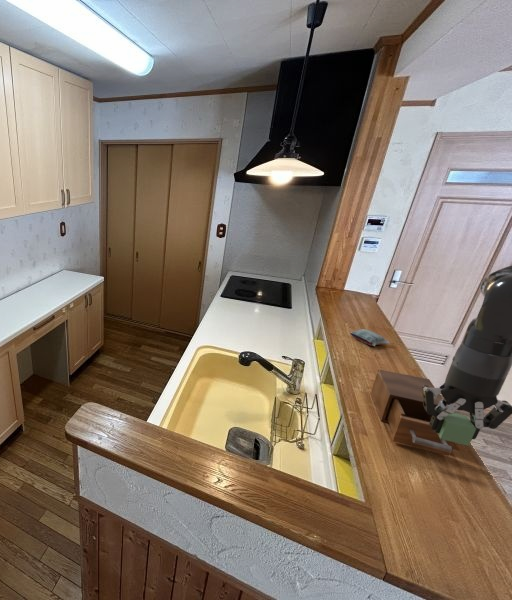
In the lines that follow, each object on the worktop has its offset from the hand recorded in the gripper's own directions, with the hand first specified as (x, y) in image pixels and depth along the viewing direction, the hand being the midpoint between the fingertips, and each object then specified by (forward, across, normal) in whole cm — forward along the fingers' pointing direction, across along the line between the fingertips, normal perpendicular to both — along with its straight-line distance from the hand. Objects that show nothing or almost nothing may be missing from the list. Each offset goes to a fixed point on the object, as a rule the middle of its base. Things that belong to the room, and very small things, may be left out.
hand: (450, 434), depth 71 cm
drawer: (+14, +1, +16) cm, 21 cm away
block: (0, 0, 0) cm, 0 cm away
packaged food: (+15, +1, +80) cm, 81 cm away
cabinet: (+15, +1, +28) cm, 32 cm away
